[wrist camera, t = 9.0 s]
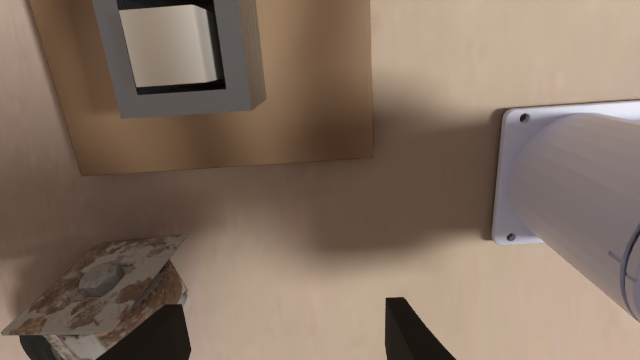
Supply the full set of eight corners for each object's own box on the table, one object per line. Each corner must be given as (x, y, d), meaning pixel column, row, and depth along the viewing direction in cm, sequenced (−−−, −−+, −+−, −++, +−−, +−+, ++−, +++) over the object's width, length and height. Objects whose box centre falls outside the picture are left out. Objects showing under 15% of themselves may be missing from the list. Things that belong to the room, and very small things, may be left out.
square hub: (253, -20, 17) (232, -42, 13) (266, 99, 18) (251, 110, 15) (138, -12, 17) (84, -31, 13) (162, 106, 19) (120, 118, 15)
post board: (364, -104, 16) (386, -188, 11) (371, 152, 20) (389, 190, 15) (23, -74, 17) (-130, -139, 11) (92, 170, 21) (5, 213, 15)
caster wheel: (115, 342, 28) (38, 242, 24) (244, 341, 25) (184, 226, 20) (43, 436, 22) (-76, 328, 18) (199, 451, 19) (102, 324, 15)
